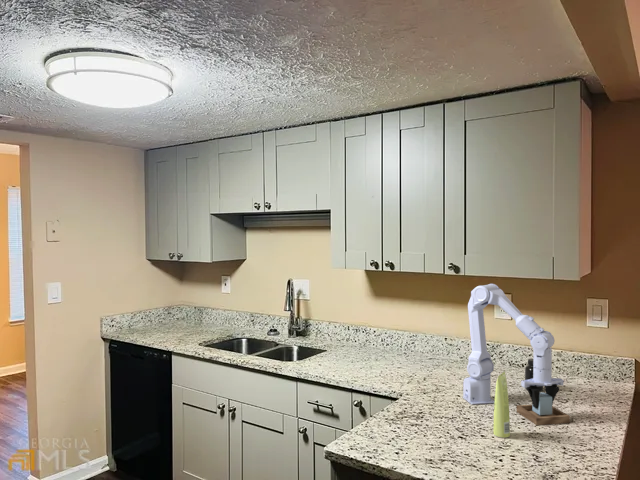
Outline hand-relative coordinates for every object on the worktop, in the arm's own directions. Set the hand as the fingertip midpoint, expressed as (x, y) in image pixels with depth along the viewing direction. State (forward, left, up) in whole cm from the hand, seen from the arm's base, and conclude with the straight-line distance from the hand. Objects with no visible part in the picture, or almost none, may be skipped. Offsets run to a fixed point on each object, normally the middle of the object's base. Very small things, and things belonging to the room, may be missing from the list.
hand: (542, 406), depth 167 cm
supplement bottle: (+14, +27, -4) cm, 31 cm away
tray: (0, 0, -4) cm, 4 cm away
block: (0, 0, -2) cm, 2 cm away
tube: (-21, -11, -4) cm, 24 cm away
